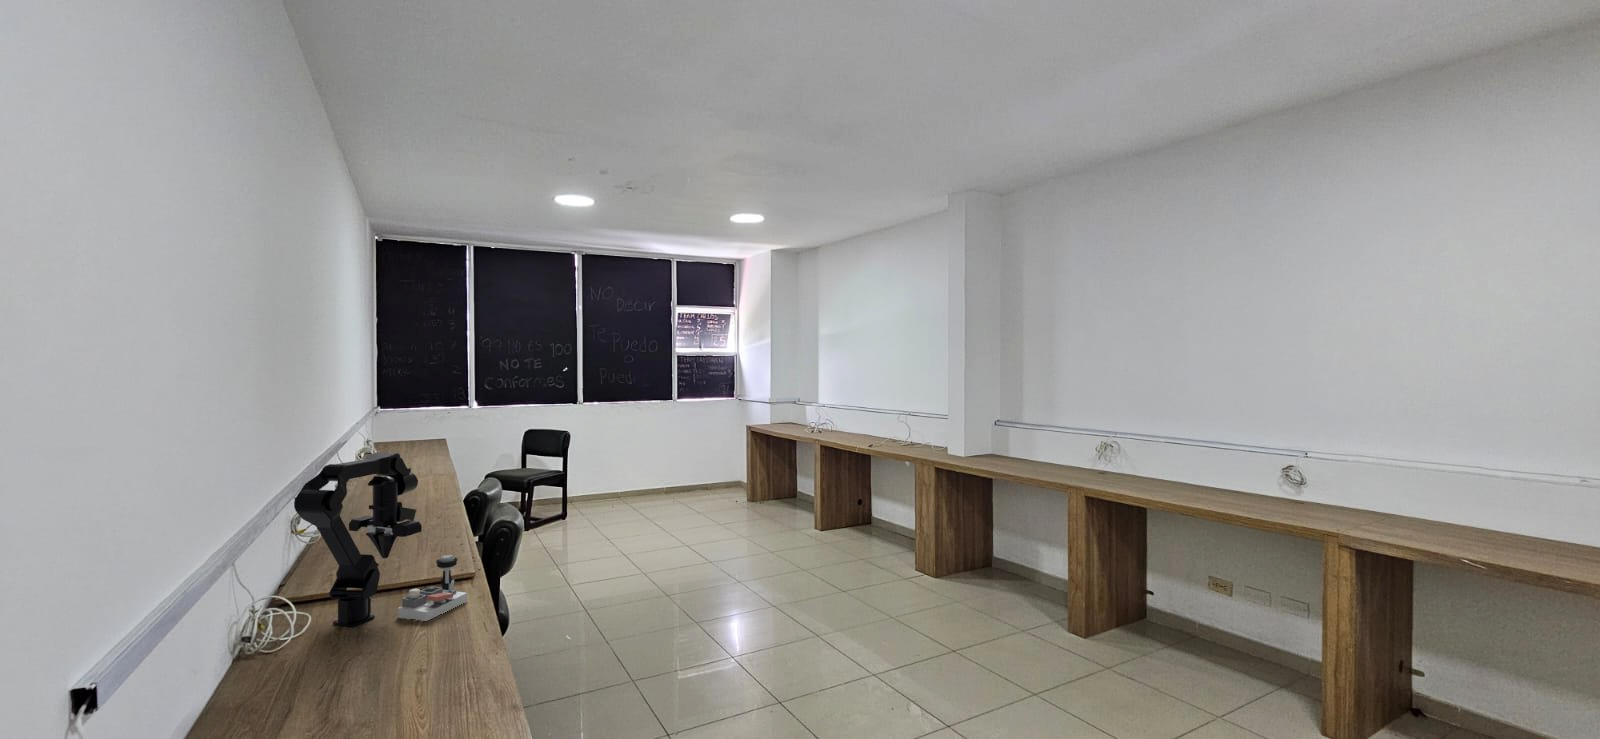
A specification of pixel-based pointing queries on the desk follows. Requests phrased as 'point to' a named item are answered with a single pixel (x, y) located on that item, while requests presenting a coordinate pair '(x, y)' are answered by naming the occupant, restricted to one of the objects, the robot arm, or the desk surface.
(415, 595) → the button ivory
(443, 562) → the grey post with knob
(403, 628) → the desk surface
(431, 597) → the rocker
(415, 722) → the desk surface
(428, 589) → the button black
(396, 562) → the desk surface
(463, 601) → the panel
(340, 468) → the robot arm
